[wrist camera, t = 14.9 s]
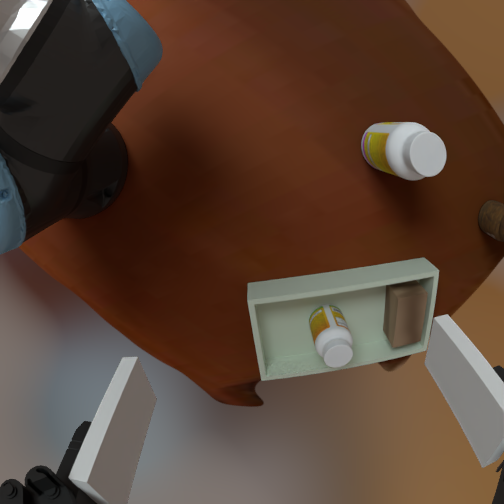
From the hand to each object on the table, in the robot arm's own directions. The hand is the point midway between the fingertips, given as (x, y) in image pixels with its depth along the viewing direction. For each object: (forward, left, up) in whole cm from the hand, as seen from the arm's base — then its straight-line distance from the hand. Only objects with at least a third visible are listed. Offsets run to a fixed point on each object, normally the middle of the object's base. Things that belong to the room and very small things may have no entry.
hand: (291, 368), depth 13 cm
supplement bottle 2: (+17, +6, -32) cm, 37 cm away
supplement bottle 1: (+7, -19, -31) cm, 37 cm away
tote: (+10, -19, -32) cm, 38 cm away
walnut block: (+20, -19, -31) cm, 41 cm away
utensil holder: (+38, -6, -32) cm, 50 cm away
